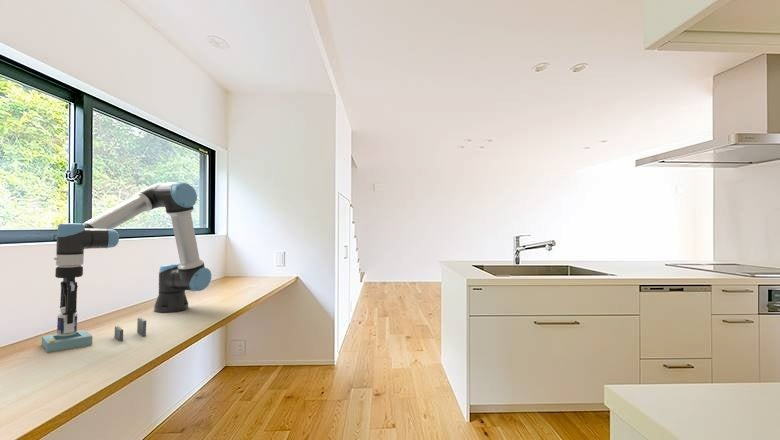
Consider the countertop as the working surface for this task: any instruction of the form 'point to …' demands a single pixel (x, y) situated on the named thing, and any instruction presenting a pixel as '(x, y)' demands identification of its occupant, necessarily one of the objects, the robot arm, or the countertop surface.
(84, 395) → the countertop surface
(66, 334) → the pill bottle
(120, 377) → the countertop surface
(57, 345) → the frame
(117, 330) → the gray upright plates
